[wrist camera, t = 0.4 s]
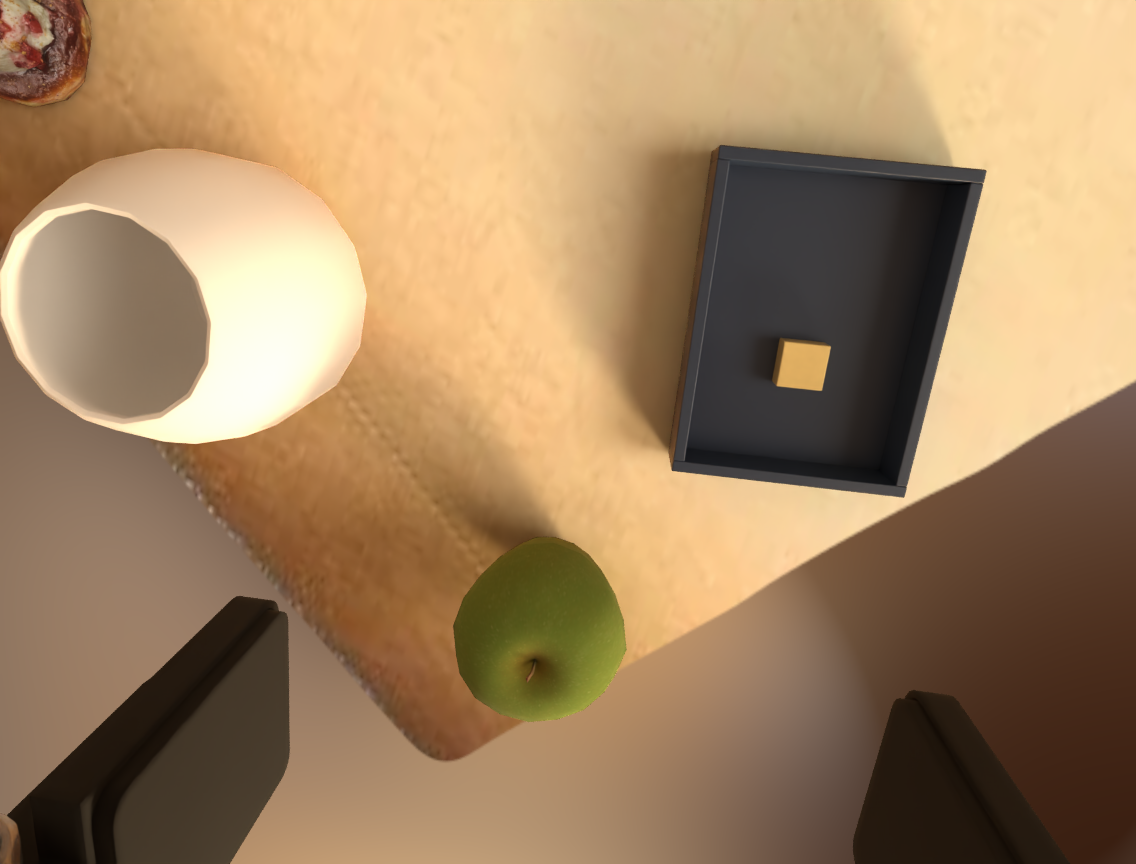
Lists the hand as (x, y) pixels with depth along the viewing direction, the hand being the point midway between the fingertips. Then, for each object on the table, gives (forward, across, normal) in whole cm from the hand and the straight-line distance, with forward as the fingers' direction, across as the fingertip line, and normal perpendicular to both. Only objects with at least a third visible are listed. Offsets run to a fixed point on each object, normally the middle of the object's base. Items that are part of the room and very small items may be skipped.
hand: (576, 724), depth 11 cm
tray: (+30, -10, -3) cm, 31 cm away
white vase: (+30, +19, -2) cm, 35 cm away
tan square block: (+29, -10, -1) cm, 31 cm away
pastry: (+30, +32, -14) cm, 46 cm away
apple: (+30, +2, +13) cm, 33 cm away
